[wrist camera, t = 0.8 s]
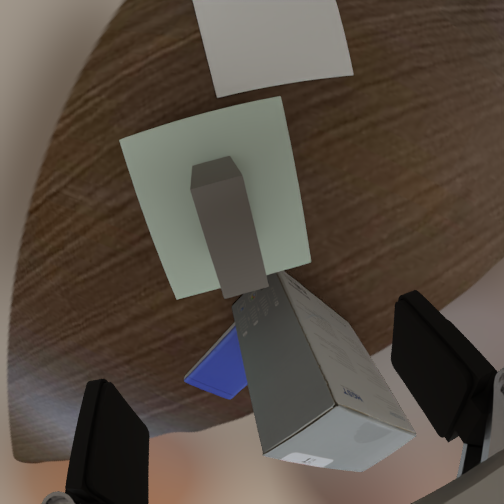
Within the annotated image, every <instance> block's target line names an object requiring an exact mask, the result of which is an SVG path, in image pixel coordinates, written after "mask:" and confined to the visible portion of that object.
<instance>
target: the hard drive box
mask: <svg viewBox="0 0 504 504" xmlns="http://www.w3.org/2000/svg"><path fill="white" fill-rule="evenodd" d="M266 276H267V280H268V284H269V287H266V288H262V289H259V290H255V291H252V292H248V293H244V294H243V295H242V296H241V297H240V298H239V299H238V300H237V301H236V302H235V303H234V305H233V306H232V310H233V316H234V321H235V326H236V331H237V336H238V341H239V346H240V351H241V355H242V360H243V365H244V369H245V374H246V379H247V383H248V388H249V393H250V397H251V402H252V406H253V411H254V415H255V419H256V424H257V428H258V433H259V438H260V442H261V446H262V450H263V456H266V457H270V458H275V459H279V460H283V461H288V462H293V463H299V464H304V465H310V466H316V467H324V468H331V469H340V470H348V471H357V472H363V471H365V470H366V469H368V468H370V467H371V466H373V465H374V464H376V463H378V462H379V461H381V460H382V459H384V458H386V457H387V456H389V455H390V454H392V453H393V452H395V451H396V450H397V449H399V448H400V447H402V446H403V445H404V444H406V443H407V442H409V441H410V440H411V439H413V438H414V437H416V432H415V431H414V429H413V427H412V426H411V424H410V422H409V421H408V419H407V417H406V415H405V414H404V412H403V410H402V409H401V407H400V405H399V403H398V402H397V400H396V398H395V397H394V395H393V393H392V392H391V390H390V388H389V387H388V385H387V383H386V382H385V380H384V379H383V377H382V375H381V373H380V372H379V370H378V369H377V367H376V366H375V364H374V362H373V361H372V359H371V357H370V356H369V354H368V352H367V351H366V349H365V348H364V346H363V344H362V343H361V341H360V340H359V338H358V337H357V335H356V333H355V332H354V330H353V329H352V327H351V326H350V324H349V323H348V322H347V321H346V320H344V319H343V318H342V317H341V316H339V315H338V314H337V313H336V312H335V311H333V310H332V309H331V308H329V307H328V306H327V305H326V304H324V303H323V302H322V301H321V300H320V299H318V298H317V297H316V296H315V295H313V294H312V293H311V292H309V291H308V290H307V289H306V288H305V287H303V286H302V285H301V284H300V283H299V282H297V281H296V280H295V279H294V278H292V277H291V276H290V275H288V274H287V273H286V272H285V271H279V272H276V273H272V274H269V275H266Z"/></svg>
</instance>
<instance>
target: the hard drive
mask: <svg viewBox="0 0 504 504" xmlns="http://www.w3.org/2000/svg"><path fill="white" fill-rule="evenodd" d="M184 381H185V382H186V383H188V384H190V385H193V386H195V387H198V388H200V389H203V390H205V391H208V392H211V393H213V394H216V395H218V396H221V397H224V398H226V399H232V398H233V397H234V396H235V395H236V394H237V393H238V392H239V391H241V390H242V389H243V388H244V387H245V386H246V385H247V384H248V383H247V379H246V374H245V369H244V365H243V360H242V355H241V351H240V346H239V341H238V336H237V331H236V326H235V322H234V323H233V324H232V326H231V327H230V328H229V329H228V330H227V331H226V332H225V333H224V334H223V335H222V337H221V338H220V339H219V340H218V341H217V342H216V343H215V344H214V345H213V346H212V347H211V348H210V350H209V351H208V352H207V353H206V354H205V355H204V356H203V357H202V358H201V359H200V360H199V361H198V363H197V364H196V365H195V366H194V367H193V368H192V369H191V370H190V371H189V372H188V373H187V374H186V375H185V376H184Z"/></svg>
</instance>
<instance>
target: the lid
mask: <svg viewBox="0 0 504 504" xmlns="http://www.w3.org/2000/svg"><path fill="white" fill-rule="evenodd" d="M119 141H120V144H121V147H122V151H123V154H124V157H125V160H126V163H127V167H128V170H129V173H130V176H131V179H132V182H133V185H134V188H135V191H136V194H137V197H138V200H139V203H140V206H141V208H142V211H143V214H144V217H145V220H146V222H147V225H148V228H149V231H150V233H151V236H152V239H153V241H154V244H155V247H156V249H157V252H158V254H159V257H160V260H161V262H162V265H163V267H164V270H165V272H166V275H167V277H168V280H169V282H170V285H171V287H172V290H173V292H174V294H175V297H176V299H181V298H185V297H188V296H192V295H196V294H200V293H203V292H207V291H211V290H215V289H218V288H221V290H222V293H223V296H224V299H226V298H230V297H233V296H237V295H241V294H244V293H248V292H252V291H255V290H259V289H262V288H266V287H269V284H268V280H267V276H266V275H269V274H272V273H276V272H279V271H283V270H286V269H290V268H293V267H297V266H300V265H304V264H307V263H311V257H310V251H309V244H308V238H307V232H306V225H305V219H304V213H303V208H302V202H301V196H300V190H299V185H298V179H297V174H296V169H295V163H294V158H293V153H292V148H291V143H290V138H289V133H288V128H287V123H286V118H285V114H284V109H283V104H282V100H281V96H278V97H273V98H267V99H262V100H258V101H253V102H248V103H244V104H239V105H235V106H231V107H226V108H222V109H218V110H214V111H210V112H206V113H203V114H199V115H195V116H192V117H188V118H185V119H181V120H178V121H174V122H171V123H168V124H165V125H161V126H158V127H155V128H152V129H149V130H146V131H143V132H140V133H137V134H134V135H131V136H129V137H126V138H123V139H121V140H119Z"/></svg>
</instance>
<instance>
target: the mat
mask: <svg viewBox="0 0 504 504" xmlns="http://www.w3.org/2000/svg"><path fill="white" fill-rule="evenodd" d="M192 1H193V5H194V9H195V13H196V17H197V21H198V25H199V29H200V33H201V37H202V41H203V45H204V49H205V53H206V57H207V61H208V64H209V68H210V72H211V76H212V80H213V84H214V88H215V92H216V96H217V98H219V97H224V96H228V95H232V94H237V93H241V92H246V91H251V90H255V89H260V88H266V87H271V86H277V85H282V84H288V83H294V82H301V81H308V80H315V79H323V78H331V77H341V76H351V75H354V74H353V69H352V65H351V60H350V55H349V51H348V46H347V42H346V38H345V34H344V30H343V26H342V22H341V18H340V14H339V10H338V7H337V3H336V0H192Z"/></svg>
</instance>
